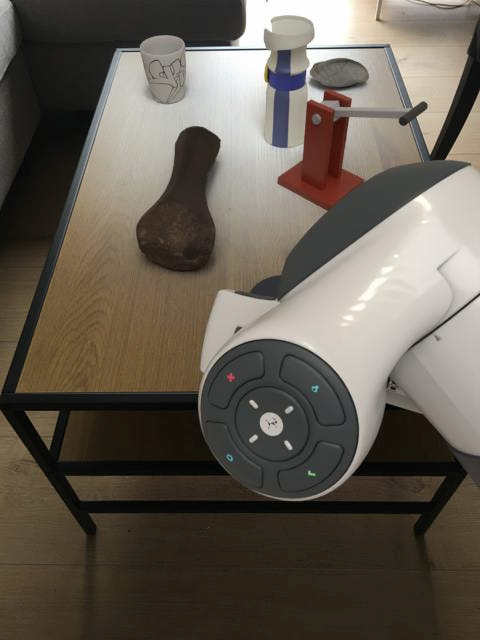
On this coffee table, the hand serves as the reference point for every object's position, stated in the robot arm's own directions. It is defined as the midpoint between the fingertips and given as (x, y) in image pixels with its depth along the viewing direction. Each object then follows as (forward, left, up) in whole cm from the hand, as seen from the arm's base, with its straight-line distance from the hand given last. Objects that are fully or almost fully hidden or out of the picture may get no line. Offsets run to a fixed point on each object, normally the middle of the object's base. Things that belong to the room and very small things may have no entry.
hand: (341, 341), depth 50 cm
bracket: (+5, -43, -15) cm, 46 cm away
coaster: (+7, -16, -15) cm, 23 cm away
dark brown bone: (+25, -32, -15) cm, 44 cm away
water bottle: (+13, -56, -15) cm, 60 cm away
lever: (0, -40, -1) cm, 40 cm away
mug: (+38, -68, -15) cm, 80 cm away
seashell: (+5, -77, -15) cm, 79 cm away
